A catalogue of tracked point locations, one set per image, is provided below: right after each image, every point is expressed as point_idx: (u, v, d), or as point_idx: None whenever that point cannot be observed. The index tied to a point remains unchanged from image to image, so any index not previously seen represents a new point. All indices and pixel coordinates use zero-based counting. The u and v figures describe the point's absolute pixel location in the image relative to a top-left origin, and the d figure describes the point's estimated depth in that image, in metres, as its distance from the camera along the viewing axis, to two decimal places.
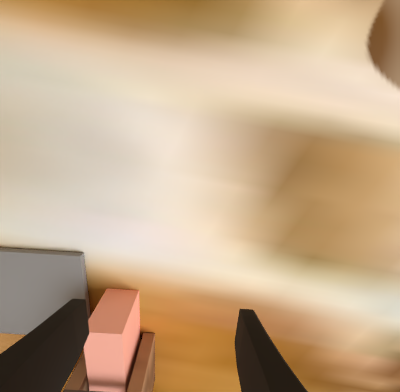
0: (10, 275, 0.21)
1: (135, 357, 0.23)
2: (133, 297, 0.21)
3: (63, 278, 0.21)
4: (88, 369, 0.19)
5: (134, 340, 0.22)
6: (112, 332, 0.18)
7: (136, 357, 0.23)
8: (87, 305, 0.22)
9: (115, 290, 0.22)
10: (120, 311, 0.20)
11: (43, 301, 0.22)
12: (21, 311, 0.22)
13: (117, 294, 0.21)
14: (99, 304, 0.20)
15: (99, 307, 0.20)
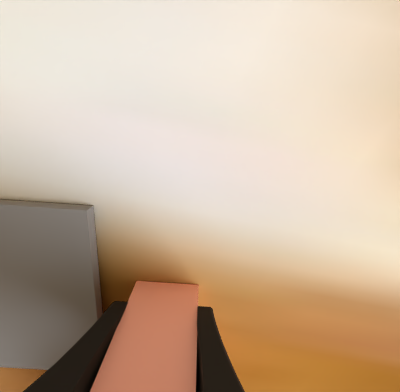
0: None
1: None
2: (193, 300, 0.10)
3: (51, 258, 0.10)
4: None
5: None
6: None
7: None
8: (99, 313, 0.12)
9: (153, 286, 0.11)
10: (174, 333, 0.09)
11: (13, 305, 0.11)
12: None
13: (160, 294, 0.11)
14: (126, 316, 0.09)
15: (126, 322, 0.09)
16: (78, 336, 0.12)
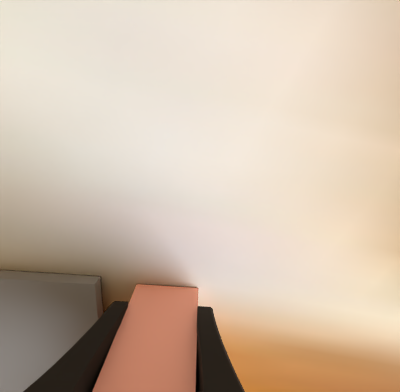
0: None
1: None
2: (193, 304, 0.10)
3: (62, 322, 0.12)
4: None
5: None
6: None
7: None
8: None
9: (153, 290, 0.11)
10: (174, 337, 0.09)
11: (27, 360, 0.12)
12: None
13: (160, 298, 0.11)
14: (126, 319, 0.09)
15: (127, 326, 0.09)
16: None
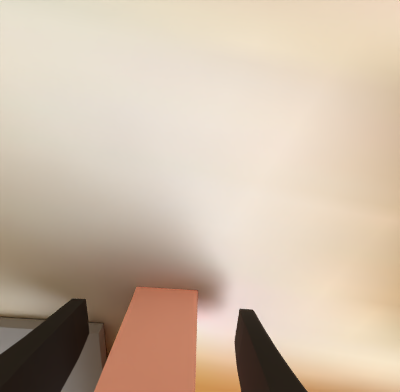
0: None
1: None
2: (193, 304, 0.11)
3: None
4: None
5: None
6: None
7: None
8: None
9: (153, 290, 0.11)
10: (174, 336, 0.09)
11: None
12: None
13: (160, 298, 0.11)
14: (127, 319, 0.10)
15: (128, 325, 0.09)
16: None
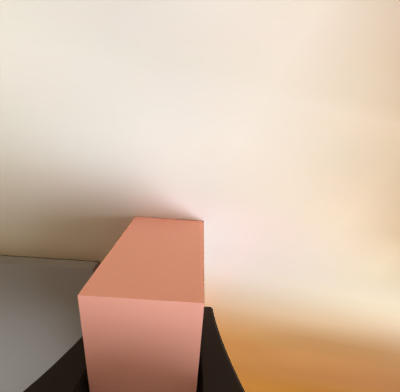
0: None
1: None
2: (198, 231, 0.09)
3: (60, 309, 0.11)
4: None
5: None
6: (174, 299, 0.06)
7: None
8: None
9: (153, 221, 0.10)
10: (177, 254, 0.08)
11: (23, 348, 0.12)
12: None
13: (161, 226, 0.10)
14: (122, 240, 0.08)
15: (123, 244, 0.08)
16: None
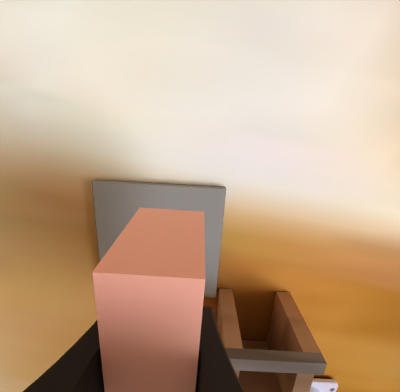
0: None
1: None
2: (199, 220, 0.10)
3: None
4: (107, 375, 0.08)
5: None
6: (179, 275, 0.06)
7: None
8: None
9: (157, 211, 0.11)
10: (180, 239, 0.08)
11: None
12: None
13: (164, 216, 0.10)
14: (129, 227, 0.09)
15: (130, 231, 0.09)
16: (205, 271, 0.19)
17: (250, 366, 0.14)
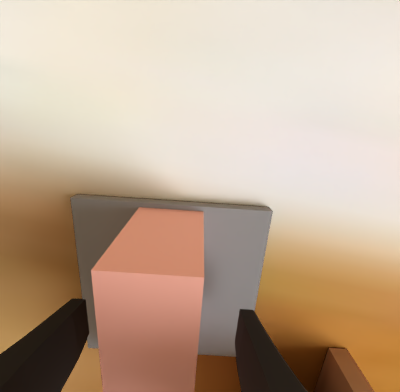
0: None
1: None
2: (199, 220, 0.10)
3: (229, 253, 0.12)
4: (106, 375, 0.08)
5: None
6: (177, 274, 0.06)
7: None
8: None
9: (156, 211, 0.11)
10: (179, 238, 0.08)
11: None
12: None
13: (163, 215, 0.10)
14: (128, 226, 0.09)
15: (129, 230, 0.09)
16: (234, 323, 0.13)
17: None
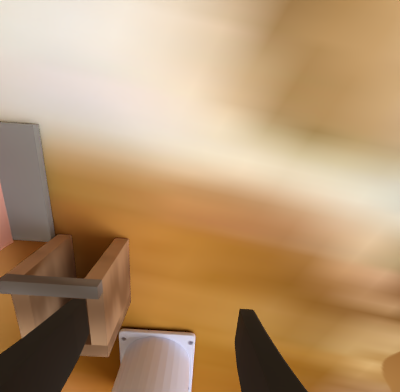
0: None
1: None
2: None
3: (14, 156, 0.17)
4: None
5: None
6: None
7: None
8: (46, 197, 0.19)
9: None
10: None
11: None
12: None
13: None
14: None
15: None
16: (34, 213, 0.19)
17: (24, 289, 0.14)
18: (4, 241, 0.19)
